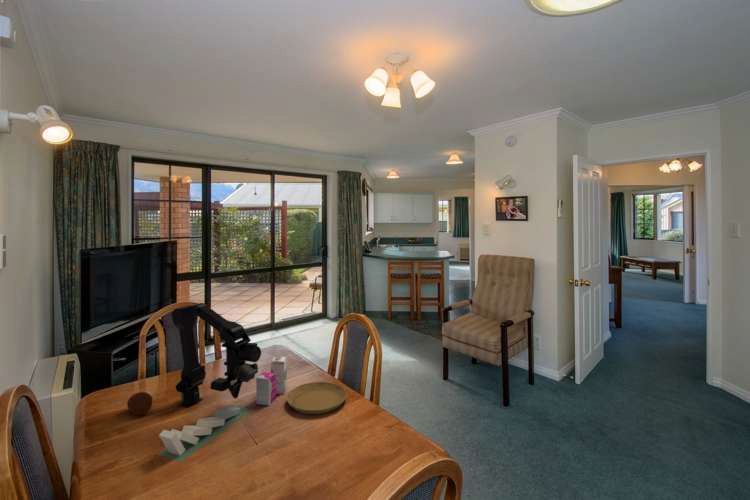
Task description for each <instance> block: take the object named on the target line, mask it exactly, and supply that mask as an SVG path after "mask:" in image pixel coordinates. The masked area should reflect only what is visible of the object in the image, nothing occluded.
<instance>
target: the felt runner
mask: <svg viewBox="0 0 750 500" xmlns="http://www.w3.org/2000/svg"><path fill="white" fill-rule="evenodd" d="M231 406H233V407H238V408H241V411H240V414H238V415H235V416H233V417H230V418H227V419H225V423H224V425H223V426H218V427H212V428H213V429H212V432H211V435H195V437H197V438H199V440H198V442H197V444H196V445H195V444H191V443H188V442H185V441H182V440H180V441H181V443H182V445H183V446H184V448H185V451H184V452H183V454H182V455H181V456H179V455H176V454H173V453H170V452H168V450H167V448H166V447H165V449H163V450H162V451H160V452H158V453H157V455H158V456H161V457H164V458H167V459H171V460H174V461H176V462H180V463H182V462H183V461H184V460H186V459H187V458H188V457H189V456H191V455H192V454H194V453H196V452H197V451H198V450H199V449H201V448H202V447H204V446H205V445H207V444H208V443H209V442H210V441H211V440H213V439H214V438H216V437H217V436H219V435H220V434H222V433H223V432H224V431H226V430H227V429H228V428H231V426H233V425H235V424H236V423H238V421H240V420H241V419H242V418H245V416H247V415H248V414H250V412H252V411H253V409H251V408H247V407H242V406H238V405H234V404H232V405H231Z"/></svg>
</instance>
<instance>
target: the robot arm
mask: <svg viewBox="0 0 750 500" xmlns="http://www.w3.org/2000/svg"><path fill="white" fill-rule="evenodd" d="M197 317H198V318H200V319H201V320H203V321H204V322H205V323H206V324H208V325H210V326H211V327H212V328H213V329H214V330H216V331H217V332H218V335H219V337H220V338H221V339H222V340H223V343H222V344H221V348H225V357H226V360H225V361H224V362H223V364H224V366H226V371H225V372H224V376H225V378H223V377H217V378H216V379H215V380H212V381H211V382H210V390H214V391H217V392H225V391H227V390H228V391H229V393H230V394H231V396H232V398H233V399H238V397H239V394H240V391H241V388H242V385H243V383H244V382H245V383H249V382H250V381H251V380H253V379H255V376H256V374H257V373H259V371H258V369H259V366H258V364H257V362H258V361H260V359H261V357H262V350H261V348H260V347H259V346H258V343H257V342H252V339H251V338H250V337H249V335H248V334H247V332H246V330H245V328H244V326H243V325H242V324H240V323H238V322H236V321H230V320H228V319H226V318H225V317H223V316H221V315H220V314H219V313H217V312H216V311H215V310H213V309H212V308H210V307H209V306H208V304H206V303H205V302H200V303H199V302H198V303H196V304H193V305H190V304H189V305H184V306H180V307H176V308H174V309H173V310H172V312H171V319H172V323H173V325H174V326H175V327H176V328H177V329H178V331H179V338H180V345H181V352H182V359H183V368H182V370H181V372H180V380H179V382H178V383H177V384H176V385H175V389H176V392H178V393H180V396H181V400H180V401H179V402H178V403H177V405H178V406H182V407H186V408H191V407H192V406H194V405H197V404H198V403H200V402H201V401H203V398H202V397H200V394H201V393H200V386H202V385H203V384H204V380H205V379H206V375H207V373H206V369H205V368H206V367H205V365H204V364H201V363H200V362H199V358H198V352H197V344H196V337H195V332H194V327H195V323H196V321H197ZM247 362H250V363H247Z"/></svg>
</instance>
